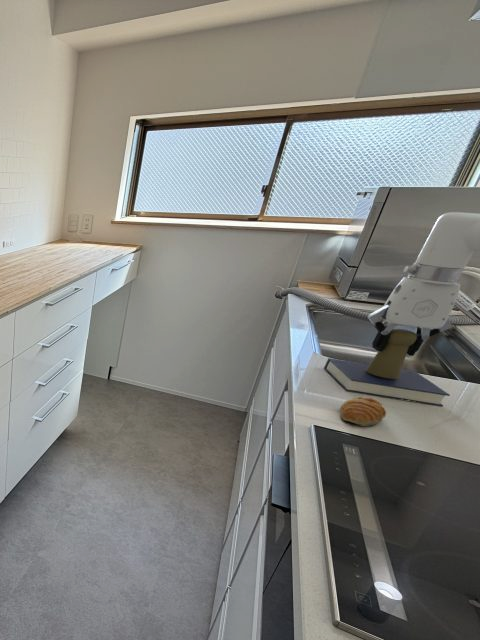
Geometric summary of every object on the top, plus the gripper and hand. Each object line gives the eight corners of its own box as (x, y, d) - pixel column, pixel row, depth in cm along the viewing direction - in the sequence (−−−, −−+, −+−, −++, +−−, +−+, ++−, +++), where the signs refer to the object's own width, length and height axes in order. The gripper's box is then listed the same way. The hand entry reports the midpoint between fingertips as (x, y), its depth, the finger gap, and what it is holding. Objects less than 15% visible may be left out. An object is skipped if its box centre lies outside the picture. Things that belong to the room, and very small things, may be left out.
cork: (359, 370, 101) (380, 327, 96) (375, 366, 103) (395, 324, 98) (389, 380, 96) (412, 335, 91) (404, 376, 98) (428, 332, 93)
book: (407, 381, 105) (413, 370, 103) (442, 406, 93) (450, 394, 91) (323, 368, 110) (328, 358, 109) (346, 390, 98) (352, 379, 97)
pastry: (372, 433, 81) (381, 416, 79) (330, 418, 86) (338, 402, 84) (383, 419, 86) (392, 403, 84) (343, 406, 91) (351, 390, 89)
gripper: (394, 272, 89) (355, 350, 97) (498, 282, 84) (448, 363, 92) (377, 266, 95) (341, 340, 103) (473, 275, 90) (428, 352, 98)
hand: (392, 350), depth 97 cm, fingers closed on cork, 5 cm apart
